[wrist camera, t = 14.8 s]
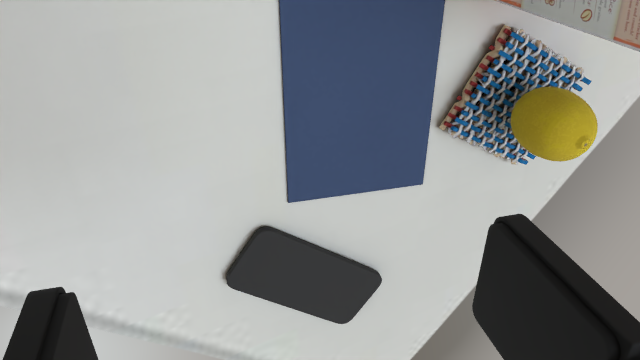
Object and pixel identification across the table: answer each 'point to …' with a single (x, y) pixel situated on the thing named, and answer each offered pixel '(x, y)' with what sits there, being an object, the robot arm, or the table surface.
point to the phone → (302, 276)
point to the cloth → (357, 93)
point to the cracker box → (591, 17)
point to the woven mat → (507, 92)
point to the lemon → (553, 123)
